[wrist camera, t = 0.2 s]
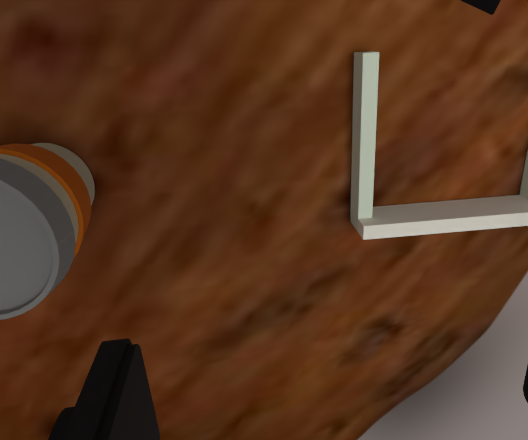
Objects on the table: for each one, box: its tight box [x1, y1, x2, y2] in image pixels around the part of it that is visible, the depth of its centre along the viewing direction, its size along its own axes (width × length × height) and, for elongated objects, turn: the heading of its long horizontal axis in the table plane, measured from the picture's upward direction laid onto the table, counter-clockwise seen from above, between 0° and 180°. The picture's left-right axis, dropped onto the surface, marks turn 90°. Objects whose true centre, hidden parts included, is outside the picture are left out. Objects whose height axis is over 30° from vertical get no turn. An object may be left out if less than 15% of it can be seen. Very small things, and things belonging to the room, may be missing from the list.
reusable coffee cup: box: [0, 143, 95, 320], centre depth 38 cm, size 13×13×15 cm
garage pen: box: [350, 52, 528, 240], centre depth 40 cm, size 18×21×13 cm
